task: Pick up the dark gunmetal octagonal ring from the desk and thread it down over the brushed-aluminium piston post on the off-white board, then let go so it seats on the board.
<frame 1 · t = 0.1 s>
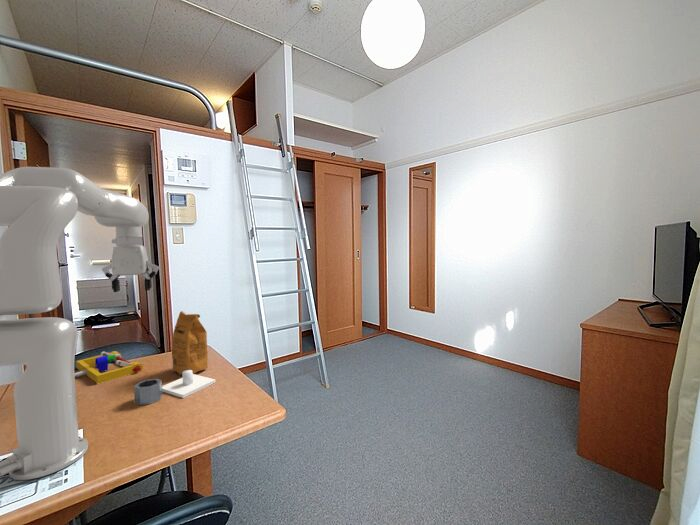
hand: (132, 290, 111), 31 cm above the table, tool pointing down, fingers open, 9 cm apart
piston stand: (188, 386, 104), on the table
yellow toy tray: (100, 372, 119), on the table
ring: (149, 399, 96), on the table
coffee package: (190, 370, 118), on the table
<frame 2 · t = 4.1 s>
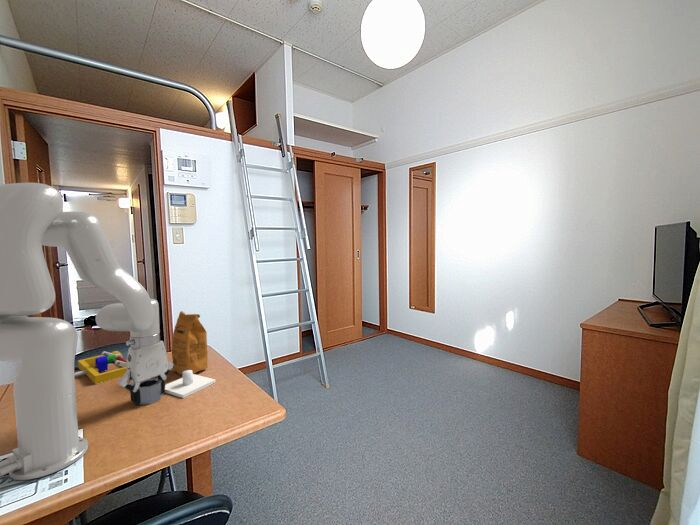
hand: (148, 397, 96), 1 cm above the table, tool pointing down, fingers closed on ring, 6 cm apart
ring: (149, 399, 96), on the table, touching gripper
everything else where it was.
when the fingers open (4 cm above the table, at t = 9.1 s): ring drops 2 cm, resting on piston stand.
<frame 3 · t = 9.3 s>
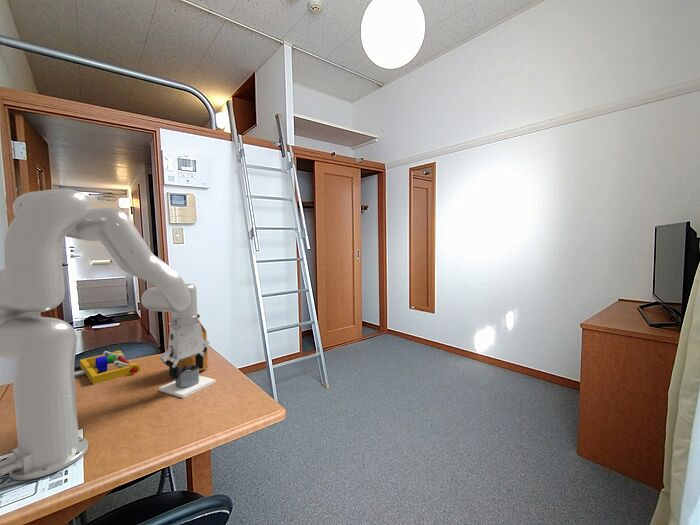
hand: (187, 372, 104), 5 cm above the table, tool pointing down, fingers open, 8 cm apart
ring: (187, 383, 104), point 1 cm above the table, touching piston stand
everything else where it was.
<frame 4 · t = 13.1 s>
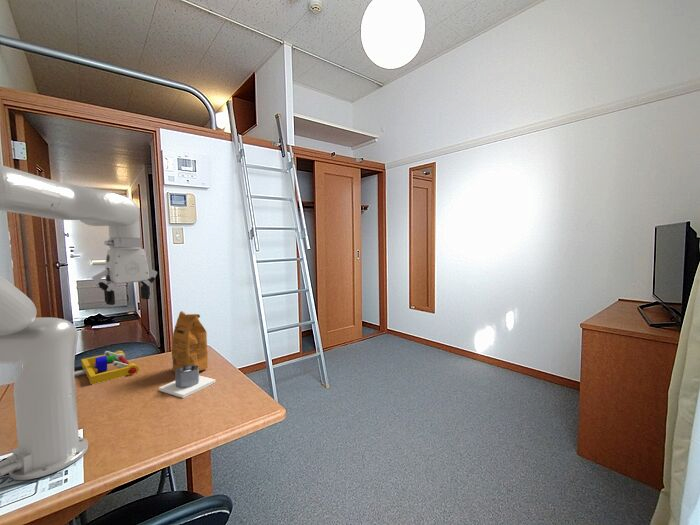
hand: (128, 301, 94), 30 cm above the table, tool pointing down, fingers open, 9 cm apart
at the end: ring 0.0 cm from the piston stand (horizontally); ring point 1.0 cm above the table; ring tilted 0° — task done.
